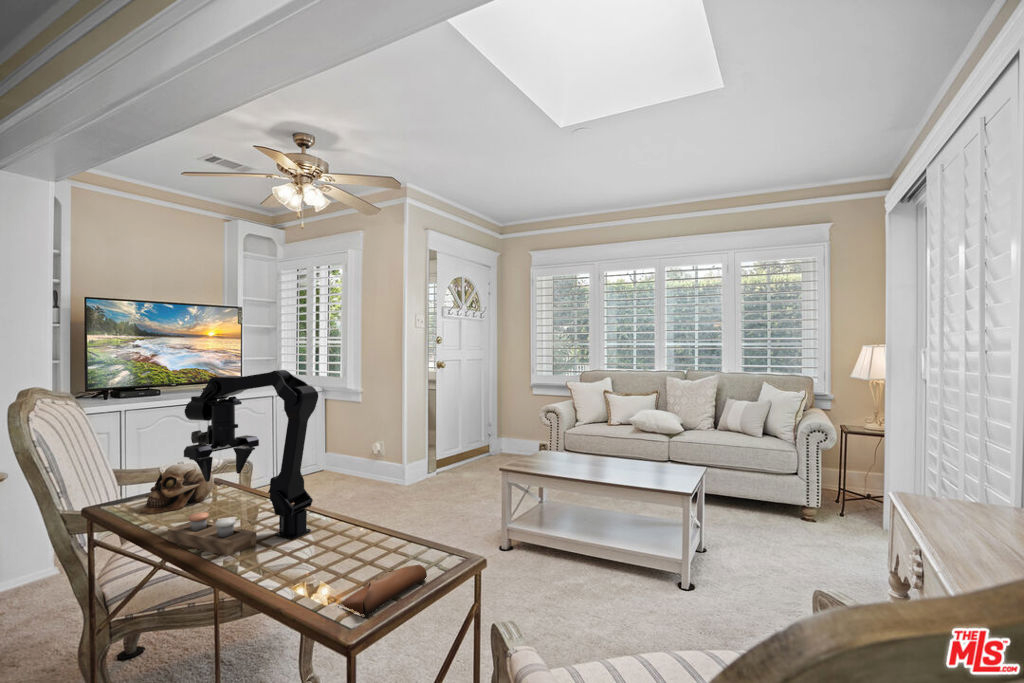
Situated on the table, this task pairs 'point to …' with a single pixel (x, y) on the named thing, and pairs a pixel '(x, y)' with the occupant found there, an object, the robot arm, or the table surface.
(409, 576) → the sunglasses case
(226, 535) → the white domed knob
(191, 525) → the terracotta plunger
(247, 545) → the walnut panel
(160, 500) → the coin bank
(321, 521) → the table surface
